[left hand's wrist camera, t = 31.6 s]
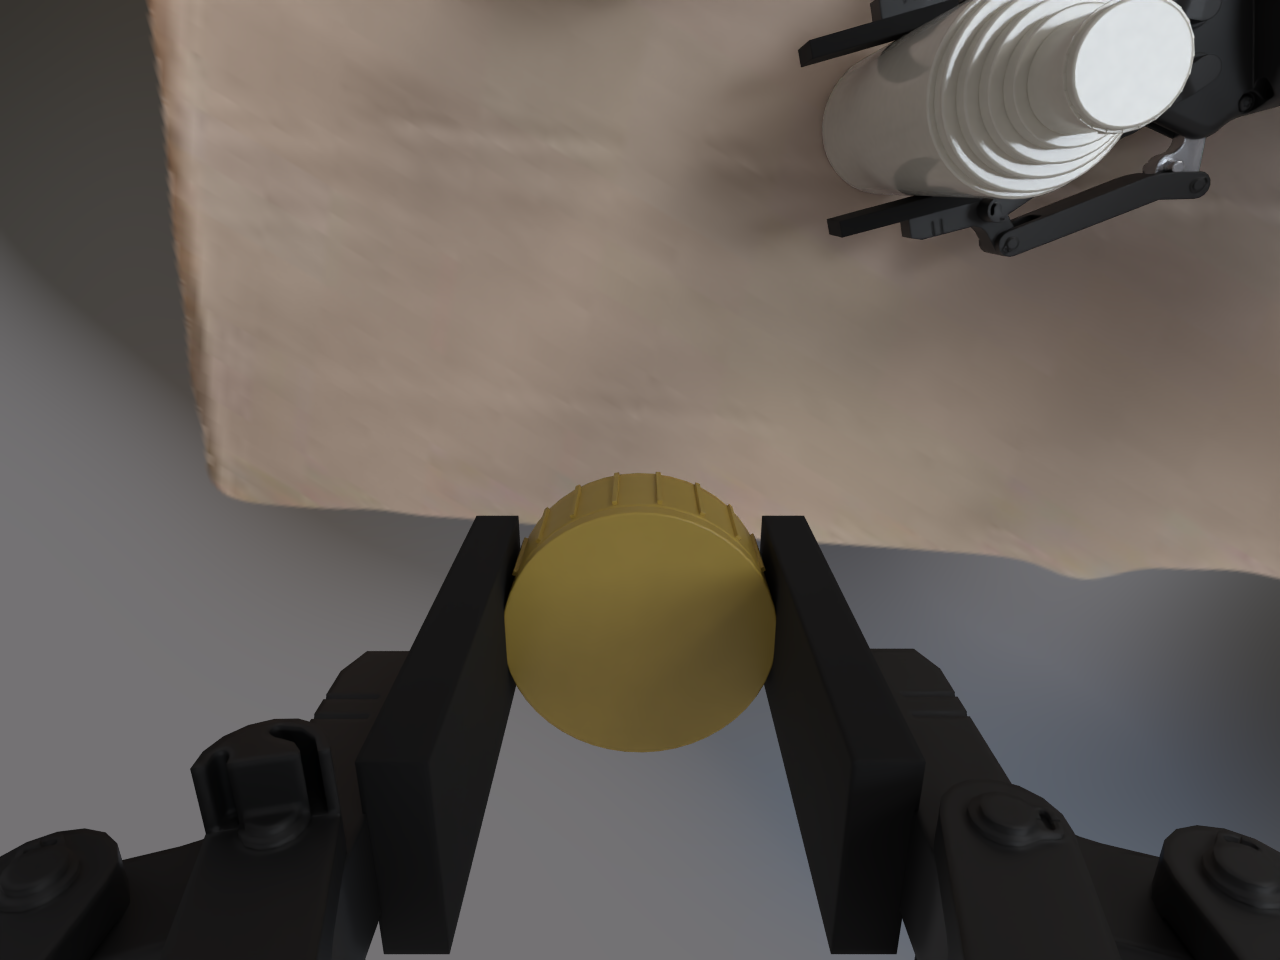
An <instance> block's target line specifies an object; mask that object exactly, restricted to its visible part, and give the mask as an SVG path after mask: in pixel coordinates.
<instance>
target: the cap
mask: <svg viewBox="0 0 1280 960" xmlns="http://www.w3.org/2000/svg"><path fill="white" fill-rule="evenodd" d="M764 571H766V569H765V566H764V563H763V560H762V557H761V554H760V551H759V548H758V545H757V542H756V539H755V536H754V534H751V535H750V534H749V532H748V530H747V529H746V527H745V526H744V525H743V523H742V522H741V520H740V519H739V518H738V517H737V516H736V514H735V513H734V511H733V508H732V506H731V505H730V504H729V505H725V504H724V503H723V502H722V501H721V500H719V499H718V498H717V497H716V496H714V495H712V494H711V493H709V492H707V491H706V490H704V489H702V488H700V484H698V483H695V485H694V484H691V483H689V482H687V481H684V480H680V479H677V478H674V477H670V476H664V475H661V472H656V474H645V473H633V474H621V475H619V472H618V473H614V476H611V477H606V478H602V479H600V480H597V481H594V482H591V483H588V484H586V485H584V486H582V487H581V486H580V485H578V486H576V488H575V490H574V491H572V492H571V493H569V494H568V495H566V496H565V497H563V498H562V499H560V500H559V501H558V502H557V503H556V504H554V505H553V506H552V507H551V508H550V509H549V508H548V507H547V508H546V509H545V510H544V513H543V516H542V518H541V519H540V520H539V521H538V523H537V524H536V526H535V527H534V529H533V531H532V532H531V534H530V535H529V538H524V540H523V543H522V546H521V549H520V552H519V555H518V558H517V561H516V564H515V567H514V570H513V573H512V575H514V576H515V577H514V580H513V583H512V586H511V589H510V592H509V595H508V599H507V602H506V606H505V609H504V621H505V636H506V651H507V664H508V668H509V671H510V673H511V675H512V677H513V679H514V681H515V683H516V685H517V687H518V689H519V690H520V692H521V693H522V694H523V696H524V698H525V699H526V700H527V701H528V703H529V704H530V705H531V706H532V707H533V708H534V709H535V710H536V712H538V713H539V714H540V715H541V716H542V717H543V718H544V719H546V720H547V721H548V722H549V723H551V724H552V725H554V726H555V727H556V728H558V729H559V730H561V731H562V732H564V733H566V734H568V735H570V736H572V737H574V738H576V739H578V740H581V741H583V742H586V743H589V744H591V745H594V746H598V747H602V748H606V749H611V750H617V751H624V752H654V751H663V750H669V749H674V748H678V747H682V746H685V745H688V744H692V743H694V742H696V741H699V740H701V739H704V738H706V737H708V736H710V735H712V734H714V733H715V732H717V731H719V730H721V729H722V728H724V727H725V726H726V725H728V724H729V723H730V722H732V721H733V720H735V719H736V718H737V717H738V716H739V715H740V714H741V713H742V712H743V711H744V710H745V709H746V708H747V707H748V706H749V705H750V703H751V702H752V701H753V700H754V699H755V697H756V696H757V695H758V693H759V691H760V690H761V688H762V687H763V685H764V683H765V681H766V679H767V677H768V675H769V672H770V670H771V668H772V664H773V658H774V644H775V629H776V611H775V605H774V602H773V599H772V596H771V593H770V590H769V587H768V584H767V580H766V577H765V574H764Z"/></svg>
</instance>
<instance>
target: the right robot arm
mask: <svg viewBox="0 0 1280 960" xmlns="http://www.w3.org/2000/svg"><path fill="white" fill-rule="evenodd" d="M964 1H966V0H874V1H873V2H872V3H870V7H871V14H872V22H871V23H868V24H864V25H861V26H857V27H854V28H850V29H847V30H843V31H840V32H836V33H833V34H829V35H826V36H823V37H819V38H816V39H812V40H809V41H808V42H807V43H806V44H805V45H803V46H802V47H801V48H800V49H799V50H798V53H799V58H800V64H801V67H804V66H807V65H811V64H814V63H818V62H821V61H825V60H828V59H832V58H835V57H839V56H842V55H846V54H849V53H853V52H856V51H860V50H863V49H867V48H870V47H874V46H877V45H881V44H884V43H888V42H891V41H895V40H897V39H899V38H901V37H903V36H904V35H906V34H908V33H910V32H911V31H913V30H915V29H917V28H918V27H920V26H922V25H924V24H925V23H927V22H929V21H931V20H932V19H934V18H936V17H938V16H939V15H941V14H943V13H945V12H947V11H948V10H950V9H952V8H954V7H955V6H957V5H959V4H961V3H962V2H964ZM1173 1H1174V2H1175V3H1177V4H1178V5H1179V6H1181V7H1182V10H1183V11H1184V12H1185V14H1186V15H1187V17H1188V18H1189V20H1190V24H1191V27H1192V30H1193V34H1194V37H1195V38H1194V49H1195V56H1194V58H1193V63H1192V68H1191V73H1190V75H1189V77H1188V79H1187V81H1186V84H1185V86H1184V88H1183V90H1182V92H1181V93H1180V94H1179V96H1178V97H1177V98H1176V100H1175V101H1174V103H1173V104H1172V105H1171V107H1170V108H1168V109H1167V110H1166V111H1165V112H1164V113H1163V114H1162V115H1160V116H1159V117H1158V118H1157V119H1156V120H1154V121H1152V122H1151V123H1149V124H1147V125H1145V126H1146V127H1148V128H1150V129H1152V130H1154V131H1157V132H1159V133H1161V134H1163V135H1165V136H1167V137H1169V138H1172V139H1173V140H1172V143H1171V145H1170V147H1169V148H1168V149H1167V151H1165V152H1164V153H1162V154H1159V155H1156V156H1154V157H1152V158H1151V159H1150V160H1149V161H1148V162H1147V163H1146V164H1145V165H1144V166H1143V173H1136V174H1131V175H1126V176H1122V177H1119V178H1116V179H1114V180H1111V181H1109V182H1106V183H1103V184H1101V185H1098V186H1096V187H1093V188H1091V189H1088V190H1086V191H1083V192H1081V193H1078V194H1076V195H1073V196H1070V197H1068V198H1065V199H1063V200H1060V201H1058V202H1055V203H1053V204H1050V205H1048V206H1045V207H1043V208H1040V209H1037V210H1035V211H1032V212H1030V213H1027V214H1025V215H1022V216H1020V217H1017V218H1015V219H1012V220H1010V218H1009V216H1008V214H1009V213H1011V212H1012V211H1014V210H1015V209H1017V208H1018V207H1020V206H1021V205H1023V204H1024V203H1026V202H1027V201H1029V200H1030V199H1032V198H1033V197H1031V198H1026V199H990V198H964V197H937V196H911V197H908V198H904V199H900V200H896V201H893V202H889V203H885V204H882V205H878V206H874V207H870V208H867V209H863V210H859V211H855V212H852V213H848V214H844V215H841V216H837V217H833V218H829V219H827V223H828V229H829V234H830V235H834V236H838V237H846V236H850V235H853V234H857V233H861V232H865V231H868V230H872V229H876V228H880V227H884V226H887V225H891V224H895V223H899V222H900V224H901V231H902V237H907V238H913V239H920V240H923V239H927V238H931V237H934V236H938V235H942V234H946V233H950V232H953V231H957V230H961V229H965V228H969V227H971V228H973V229H974V231H975V232H976V234H977V236H978V238H979V246H980V248H981V249H982V250H983V251H984V252H988V253H992V254H997V255H1002V256H1008V257H1011V256H1015V255H1018V254H1020V253H1023V252H1025V251H1028V250H1031V249H1033V248H1036V247H1038V246H1041V245H1043V244H1046V243H1049V242H1051V241H1054V240H1056V239H1059V238H1061V237H1064V236H1067V235H1069V234H1072V233H1074V232H1077V231H1080V230H1082V229H1085V228H1087V227H1090V226H1092V225H1095V224H1098V223H1100V222H1103V221H1105V220H1108V219H1110V218H1113V217H1116V216H1118V215H1121V214H1123V213H1126V212H1129V211H1131V210H1134V209H1136V208H1139V207H1141V206H1144V205H1147V204H1149V203H1152V202H1154V201H1157V200H1168V199H1195V198H1199V197H1201V196H1203V195H1204V194H1205V193H1206V192H1207V191H1208V189H1209V186H1210V177H1209V175H1208V174H1207V173H1205V172H1202V171H1199V169H1200V164H1201V159H1202V154H1203V149H1204V144H1205V139H1206V137H1208V136H1210V135H1212V134H1214V133H1215V132H1217V131H1218V130H1219V129H1220V128H1221V127H1222V126H1224V125H1225V124H1226V123H1228V122H1229V121H1231V120H1233V119H1235V118H1237V117H1240V116H1244V115H1248V114H1251V113H1255V112H1259V111H1263V110H1266V109H1270V108H1274V107H1278V106H1280V0H1173ZM1143 127H1144V126H1143ZM1140 129H1141V128H1140ZM1138 130H1139V129H1136V130H1133V131H1129V132H1125V133H1123V134H1122V135H1121V137H1120V139H1121V138H1123V137H1125V136H1128V135H1130V134H1132V133H1134V132H1136V131H1138Z"/></svg>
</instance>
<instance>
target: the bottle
mask: <svg viewBox="0 0 1280 960" xmlns="http://www.w3.org/2000/svg"><path fill="white" fill-rule="evenodd" d="M1194 38H1195V37H1194V34H1193V30H1192V27H1191V24H1190V20H1189V18H1188V17H1187V15H1186V14H1185V12H1184V11H1183V10H1182V7H1181V6H1179V5H1178V4H1177V3H1175V2H1174V1H1173V0H966V1H964V2H962V3H961V4H959V5H957V6H955V7H954V8H952V9H950V10H948V11H947V12H945V13H943V14H941V15H939V16H938V17H936V18H934V19H932V20H931V21H929V22H927V23H925V24H924V25H922V26H920V27H918V28H917V29H915V30H913V31H911V32H910V33H908V34H906V35H904V36H903V37H901V38H899V39H897V40H896V41H894V42H892V43H890V44H888V45H887V46H885V47H883V48H881V49H880V50H878V51H876V52H874V53H873V54H871V55H869V56H867V57H866V58H864V59H862V60H861V61H859V62H858V63H856V64H855V65H853V66H852V67H851V68H850V69H849V70H848V71H847V72H846V73H845V74H844V75H843V76H842V77H841V78H840V80H839V81H838V82H837V84H836V85H835V87H834V89H833V90H832V92H831V94H830V96H829V99H828V101H827V104H826V107H825V111H824V115H823V122H822V137H823V144H824V149H825V152H826V155H827V158H828V160H829V162H830V164H831V166H832V167H833V169H834V170H835V171H836V173H837V174H838V175H839V176H840V177H841V178H842V179H843V180H844V181H845V182H846V183H848V184H849V185H851V186H852V187H854V188H856V189H858V190H861V191H863V192H867V193H872V194H885V195H911V196H937V197H964V198H990V199H1026V198H1031V197H1036V196H1040V195H1043V194H1046V193H1049V192H1052V191H1054V190H1056V189H1059V188H1061V187H1063V186H1065V185H1066V184H1068V183H1070V182H1071V181H1073V180H1075V179H1076V178H1078V177H1079V176H1081V175H1083V174H1084V173H1086V172H1087V171H1089V170H1090V169H1091V168H1092V167H1094V166H1095V165H1096V164H1097V163H1098V162H1099V161H1100V160H1101V159H1102V158H1103V157H1104V156H1106V155H1107V154H1108V152H1109V151H1110V150H1111V149H1112V148H1113V146H1114V145H1115V144H1116V143H1117V141H1118V140H1119V139H1120V137H1121V135H1122V134H1123V133H1125V132H1129V131H1133V130H1136V129H1140V128H1142V127H1143V126H1145V125H1147V124H1149V123H1151V122H1152V121H1154V120H1156V119H1157V118H1158V117H1159V116H1160V115H1162V114H1163V113H1164V112H1165V111H1166V110H1167V109H1168V108H1170V107H1171V105H1172V104H1173V103H1174V101H1175V100H1176V98H1177V97H1178V96H1179V94H1180V93H1181V92H1182V90H1183V88H1184V86H1185V84H1186V81H1187V79H1188V77H1189V75H1190V73H1191V68H1192V63H1193V58H1194V56H1195V49H1194Z"/></svg>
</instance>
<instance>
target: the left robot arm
mask: <svg viewBox="0 0 1280 960" xmlns="http://www.w3.org/2000/svg"><path fill="white" fill-rule="evenodd" d="M519 552H520V535H519V518H518V516H476V518H475V520H474V522H473V524H472V526H471V528H470V530H469V532H468V534H467V536H466V538H465V540H464V542H463V544H462V546H461V548H460V550H459V553H458V554H457V556H456V558H455V560H454V562H453V564H452V567H451V568H450V570H449V573H448V575H447V577H446V579H445V581H444V583H443V585H442V587H441V589H440V591H439V593H438V595H437V597H436V599H435V601H434V603H433V605H432V607H431V609H430V611H429V613H428V615H427V617H426V619H425V621H424V623H423V625H422V627H421V629H420V631H419V633H418V635H417V637H416V639H415V641H414V643H413V645H412V647H411V649H410V651H367V652H365V653H364V654H363V655H362V656H360V657H359V658H358V659H356V660H355V661H354V662H352V663H351V664H350V665H348V666H347V667H346V668H344V669H343V670H342V671H341V672H340V673H339V675H338V677H337V678H336V680H335V682H334V683H333V685H332V686H331V688H330V690H329V691H328V693H327V694H326V699H324V700H323V701H322V703H321V704H320V706H319V707H318V709H317V711H316V712H315V714H314V719H311V720H310V722H308V721H305V720H301V719H273V720H268V721H264V722H260V723H255V724H251V725H248V726H245V727H243V728H241V729H239V730H237V731H234V732H232V733H230V734H228V735H225V736H223V737H222V738H221V739H219V740H218V741H217V742H215V743H214V744H213V745H211V746H210V747H208V748H207V749H206V750H205V751H203V752H202V754H201V755H200V756H199V758H198V759H197V760H196V762H195V763H194V764H193V766H192V767H191V769H190V770H191V774H192V778H193V782H194V786H195V790H196V795H197V799H198V803H199V807H200V811H201V815H202V819H203V823H204V828H205V832H206V835H205V838H204V839H202V840H199V841H196V842H193V843H190V844H187V845H183V846H180V847H176V848H172V849H167V850H163V851H159V852H155V853H151V854H146V855H142V856H138V857H134V858H129V859H125V860H122V858H121V855H120V851H119V848H118V845H117V843H116V842H115V841H114V840H113V839H112V838H111V837H110V836H109V835H108V834H107V833H105V832H100V831H95V830H90V829H76V830H68V831H60V832H56V833H53V834H50V835H47V836H44V837H41V838H38V839H35V840H32V841H29V842H26V843H24V844H23V845H21V846H19V847H17V848H15V849H14V850H12V851H10V852H8V853H6V854H4V855H3V856H1V857H0V960H365V958H366V955H367V952H368V949H369V947H370V944H371V941H372V938H373V935H374V933H375V930H376V927H377V924H378V921H379V925H380V931H381V938H382V945H383V951H384V954H450V950H451V946H452V942H453V938H454V934H455V930H456V926H457V922H458V918H459V913H460V910H461V906H462V902H463V897H464V894H465V890H466V885H467V881H468V877H469V873H470V869H471V865H472V861H473V857H474V853H475V849H476V845H477V841H478V837H479V833H480V829H481V825H482V821H483V817H484V813H485V809H486V805H487V801H488V797H489V793H490V789H491V784H492V781H493V777H494V773H495V769H496V764H497V760H498V756H499V752H500V748H501V744H502V740H503V736H504V732H505V728H506V724H507V720H508V716H509V712H510V708H511V704H512V700H513V696H514V692H515V688H516V683H515V681H514V679H513V677H512V675H511V673H510V671H509V668H508V664H507V651H506V636H505V621H504V609H505V606H506V602H507V599H508V595H509V592H510V589H511V586H512V583H513V580H514V577H515V576H514V575H512V573H513V570H514V567H515V564H516V561H517V558H518V555H519ZM760 554H761V557H762V560H763V563H764V566H765V569H766V571H764V574H765V577H766V580H767V584H768V587H769V590H770V593H771V596H772V599H773V602H774V605H775V611H776V629H775V644H774V658H773V664H772V668H771V670H770V672H769V675H768V677H767V679H766V681H765V683H764V686H765V690H766V694H767V698H768V702H769V706H770V710H771V714H772V718H773V722H774V726H775V730H776V734H777V738H778V742H779V746H780V750H781V754H782V758H783V762H784V766H785V771H786V774H787V778H788V783H789V787H790V791H791V795H792V799H793V803H794V807H795V811H796V815H797V819H798V823H799V827H800V831H801V835H802V839H803V843H804V847H805V851H806V855H807V859H808V863H809V867H810V871H811V875H812V879H813V883H814V887H815V891H816V896H817V900H818V904H819V908H820V912H821V916H822V920H823V924H824V928H825V932H826V936H827V940H828V944H829V948H830V952H831V954H897V948H898V941H899V935H900V928H901V922H902V919H903V922H904V924H905V927H906V930H907V933H908V935H909V938H910V941H911V944H912V947H913V950H914V952H915V960H1280V852H1278V851H1276V850H1274V849H1273V848H1271V847H1269V846H1267V845H1265V844H1263V843H1262V842H1260V841H1258V840H1256V839H1254V838H1251V837H1247V836H1245V835H1242V834H1239V833H1236V832H1233V831H1230V830H1227V829H1223V828H1215V827H1207V826H1199V825H1196V826H1190V827H1185V828H1180V829H1176V830H1175V831H1174V832H1173V833H1172V834H1171V835H1169V836H1168V837H1167V838H1166V839H1165V840H1164V844H1163V847H1162V850H1161V854H1160V857H1156V856H1152V855H1148V854H1144V853H1140V852H1135V851H1131V850H1127V849H1123V848H1118V847H1114V846H1110V845H1106V844H1102V843H1098V842H1095V841H1092V840H1088V839H1085V838H1082V837H1079V836H1077V835H1075V834H1074V832H1073V830H1072V829H1071V827H1070V826H1069V824H1068V822H1067V821H1066V819H1065V818H1064V816H1063V815H1062V814H1061V813H1060V812H1059V811H1058V810H1057V809H1055V808H1054V807H1053V806H1052V805H1051V804H1049V803H1048V802H1047V801H1046V800H1045V799H1043V798H1042V797H1040V796H1038V795H1036V794H1034V793H1032V792H1030V791H1028V790H1026V789H1024V788H1022V787H1020V786H1017V785H1014V784H1011V782H1010V780H1009V779H1008V777H1007V776H1006V774H1005V772H1004V771H1003V769H1002V767H1001V766H1000V764H999V763H998V761H997V759H996V758H995V756H994V755H993V753H992V752H991V750H990V748H989V747H988V745H987V743H986V742H985V740H984V739H983V737H982V735H981V734H980V732H979V731H978V729H977V727H976V726H975V724H974V722H973V721H972V719H971V718H970V717H969V716H967V711H966V710H965V708H964V706H963V705H962V703H961V702H960V700H959V698H958V697H955V692H954V690H953V689H952V687H951V685H950V684H949V682H948V681H947V679H946V677H945V676H944V674H943V673H942V671H941V669H940V668H938V667H937V666H936V665H934V664H933V663H932V662H931V661H929V660H928V659H927V658H925V657H924V656H923V655H921V654H920V653H919V652H917V651H916V650H915V649H870V648H869V646H868V644H867V642H866V640H865V638H864V636H863V634H862V632H861V630H860V628H859V626H858V624H857V622H856V620H855V618H854V616H853V614H852V612H851V610H850V608H849V606H848V604H847V602H846V600H845V598H844V596H843V594H842V592H841V590H840V588H839V585H838V583H837V581H836V579H835V577H834V575H833V573H832V572H831V569H830V567H829V565H828V563H827V561H826V559H825V557H824V555H823V553H822V551H821V549H820V547H819V545H818V543H817V541H816V539H815V537H814V535H813V533H812V531H811V529H810V527H809V525H808V523H807V521H806V519H805V517H804V516H762V527H761V544H760Z"/></svg>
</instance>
